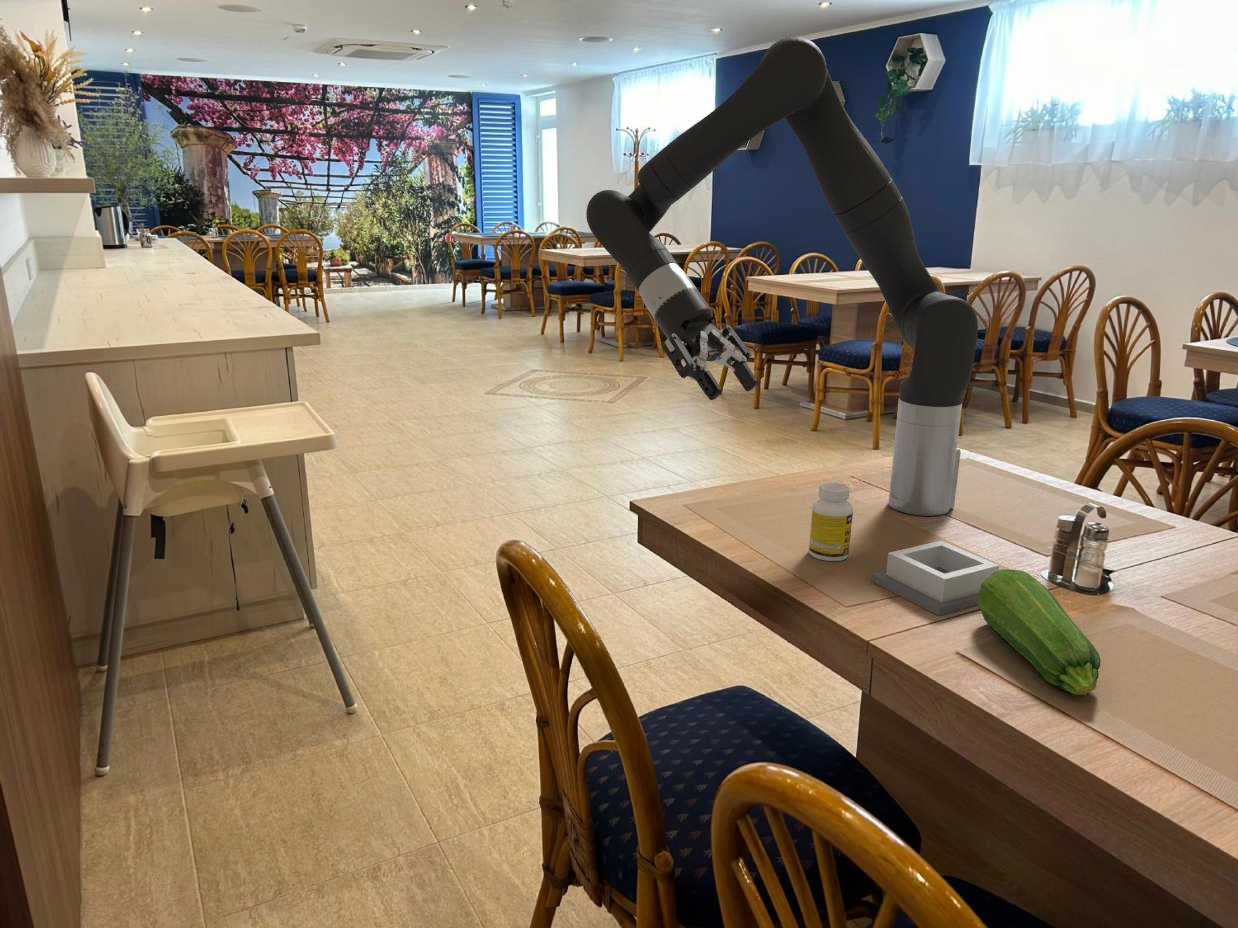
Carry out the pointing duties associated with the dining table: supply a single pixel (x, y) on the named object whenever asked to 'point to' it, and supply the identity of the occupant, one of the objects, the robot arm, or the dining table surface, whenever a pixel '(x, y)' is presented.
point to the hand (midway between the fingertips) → (735, 392)
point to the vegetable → (1039, 630)
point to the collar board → (936, 576)
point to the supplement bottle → (831, 523)
